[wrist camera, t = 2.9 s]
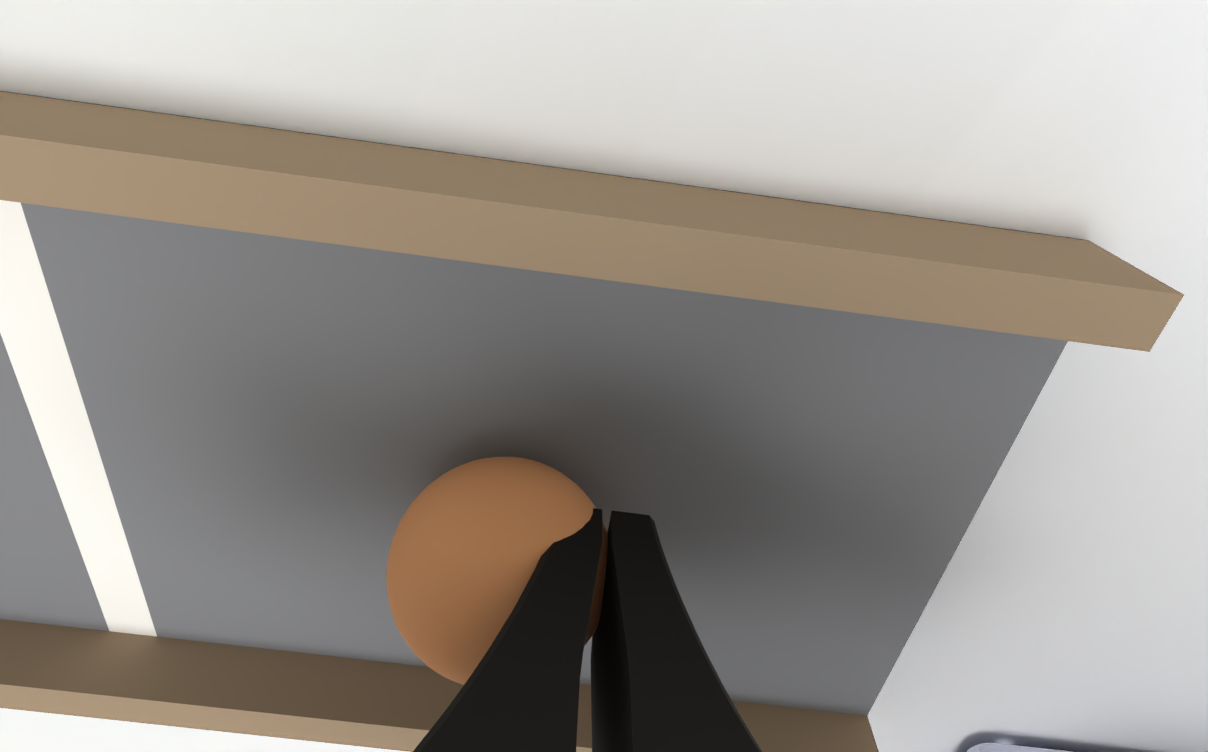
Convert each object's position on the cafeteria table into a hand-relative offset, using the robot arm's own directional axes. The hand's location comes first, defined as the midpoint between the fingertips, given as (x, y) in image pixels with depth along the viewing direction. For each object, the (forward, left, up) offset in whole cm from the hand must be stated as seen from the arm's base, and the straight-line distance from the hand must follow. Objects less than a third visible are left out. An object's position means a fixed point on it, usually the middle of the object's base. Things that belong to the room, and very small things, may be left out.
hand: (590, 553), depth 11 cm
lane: (+6, 0, -2) cm, 7 cm away
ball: (+1, 0, -1) cm, 2 cm away
